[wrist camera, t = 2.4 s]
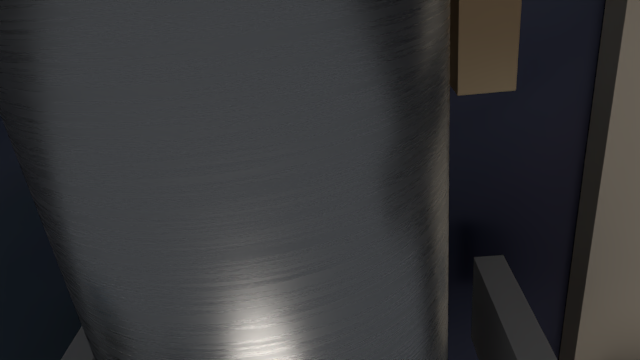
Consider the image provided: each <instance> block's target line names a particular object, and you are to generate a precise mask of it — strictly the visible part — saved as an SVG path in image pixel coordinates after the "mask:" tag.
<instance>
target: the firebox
mask: <svg viewBox="0 0 640 360" xmlns="http://www.w3.org/2000/svg"><path fill="white" fill-rule="evenodd" d="M559 360H640V0H606V3H605V11H604V19H603V26H602V34H601V42H600V49H599V57H598V65H597V72H596V80H595V88H594V95H593V103H592V110H591V118H590V126H589V133H588V141H587V149H586V156H585V164H584V172H583V179H582V187H581V195H580V202H579V210H578V217H577V225H576V233H575V240H574V248H573V256H572V263H571V271H570V279H569V286H568V294H567V302H566V309H565V317H564V324H563V332H562V340H561V347H560V355H559Z"/></svg>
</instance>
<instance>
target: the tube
mask: <svg viewBox="0 0 640 360" xmlns="http://www.w3.org/2000/svg"><path fill="white" fill-rule="evenodd" d="M449 100H450V0H0V115H1V118H2V120H3V123H4V125H5V128H6V130H7V133H8V136H9V138H10V141H11V143H12V146H13V149H14V151H15V154H16V156H17V159H18V162H19V164H20V167H21V169H22V172H23V175H24V177H25V180H26V182H27V185H28V187H29V190H30V193H31V195H32V198H33V200H34V203H35V206H36V208H37V211H38V213H39V216H40V219H41V221H42V224H43V226H44V229H45V232H46V234H47V237H48V239H49V242H50V244H51V247H52V250H53V252H54V255H55V257H56V260H57V263H58V265H59V268H60V270H61V273H62V276H63V278H64V281H65V283H66V286H67V289H68V291H69V294H70V296H71V299H72V301H73V304H74V307H75V309H76V312H77V314H78V317H79V320H80V322H81V325H82V327H83V330H84V333H85V335H86V338H87V340H88V343H89V346H90V348H91V351H92V353H93V356H94V358H95V360H448V243H449Z"/></svg>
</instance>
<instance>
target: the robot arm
mask: <svg viewBox="0 0 640 360" xmlns="http://www.w3.org/2000/svg"><path fill="white" fill-rule="evenodd" d="M471 338H472V341H473V344H474V347H475V350H476V353H477V356H478V359H479V360H557V358H556V356H555V354H554V352H553V350H552V348H551V346H550V344H549V342H548V341H547V339H546V337H545V335H544V333H543V331H542V329H541V327H540V325H539V323H538V321H537V319H536V317H535V315H534V313H533V312H532V310H531V308H530V306H529V304H528V302H527V300H526V298H525V296H524V294H523V292H522V290H521V288H520V286H519V284H518V283H517V281H516V279H515V277H514V275H513V273H512V271H511V269H510V267H509V265H508V263H507V261H506V259H505V257H504V255H497V256H483V257H474V264H473V295H472V326H471ZM61 360H95V358H94V356H93V353H92V351H91V348H90V346H89V343H88V340H87V338H86V335H85V333H84V330H83V327H82V326H81V328H80V330H79V331H78V333H77V334H76V336H75V338H74V339H73V341H72V342H71V344H70V346H69V347H68V349H67V350H66V352H65V354H64V355H63V357H62V359H61Z"/></svg>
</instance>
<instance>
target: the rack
mask: <svg viewBox="0 0 640 360" xmlns="http://www.w3.org/2000/svg"><path fill="white" fill-rule="evenodd" d="M521 2H522V0H450V86H451V87H452V88H453V90H454V91H455V93H456V94H457V95H458V96H459V95H470V94H481V93H492V92H503V91H514V90H516V80H517V65H518V49H519V33H520V18H521Z"/></svg>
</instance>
